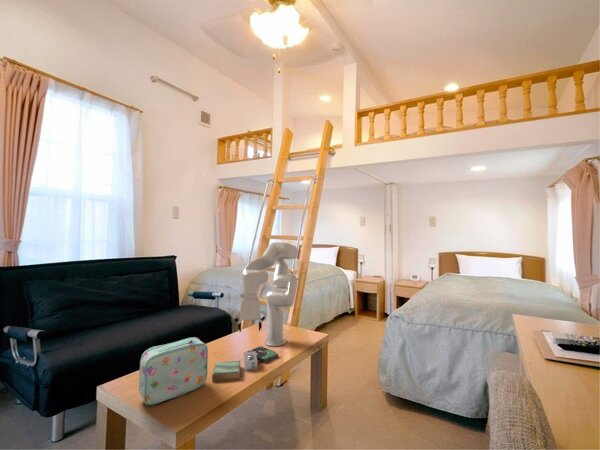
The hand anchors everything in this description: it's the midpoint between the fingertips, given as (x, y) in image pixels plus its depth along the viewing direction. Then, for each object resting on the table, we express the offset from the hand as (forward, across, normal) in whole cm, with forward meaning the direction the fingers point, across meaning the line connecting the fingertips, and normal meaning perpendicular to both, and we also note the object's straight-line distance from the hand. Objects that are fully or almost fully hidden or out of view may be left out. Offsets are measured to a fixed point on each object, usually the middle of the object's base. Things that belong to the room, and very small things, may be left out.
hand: (249, 330), depth 144 cm
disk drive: (+18, +7, +10) cm, 22 cm away
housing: (+18, 0, +1) cm, 18 cm away
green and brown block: (+18, -11, -6) cm, 22 cm away
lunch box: (+18, -31, -18) cm, 40 cm away
